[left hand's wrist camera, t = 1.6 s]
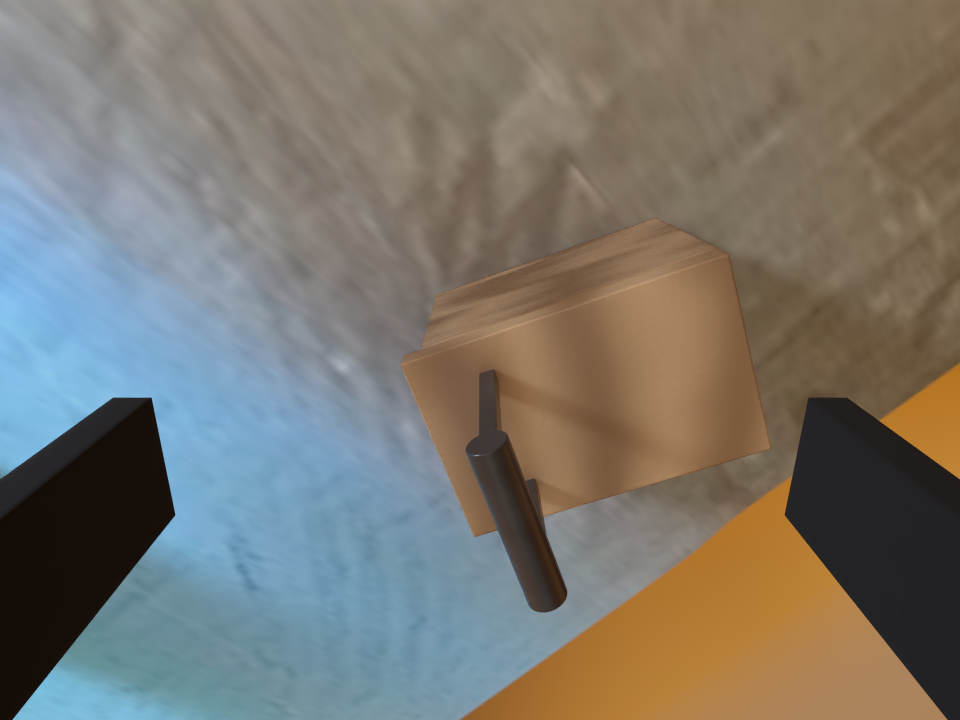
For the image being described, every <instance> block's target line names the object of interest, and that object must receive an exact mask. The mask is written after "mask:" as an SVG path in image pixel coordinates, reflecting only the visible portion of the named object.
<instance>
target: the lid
mask: <svg viewBox="0 0 960 720" xmlns="http://www.w3.org/2000/svg"><path fill="white" fill-rule="evenodd" d="M401 368H402V370H403V373H404V375H405V377H406V379H407V382H408V384H409V386H410V389H411V391H412V393H413V396H414V398H415V400H416V403H417V405H418V407H419V410H420V412H421V414H422V417H423V419H424V421H425V424H426V426H427V428H428V431H429V433H430V435H431V438H432V440H433V442H434V445H435V447H436V449H437V452H438V454H439V456H440V458H441V461H442V463H443V465H444V468H445V470H446V472H447V475H448V477H449V479H450V482H451V484H452V486H453V489H454V491H455V493H456V496H457V498H458V500H459V503H460V505H461V507H462V510H463V512H464V514H465V517H466V519H467V521H468V524H469V526H470V528H471V531H472V533H473V535H474V536H475V537H476V536H480V535H483V534H486V533H490V532H493V531H496V530H498V532H499V534H500V537H501V539H502V542H503V544H504V546H505V549H506V551H507V554H508V556H509V559H510V561H511V563H512V566H513V568H514V571H515V573H516V575H517V578H518V580H519V583H520V585H521V588H522V590H523V592H524V595H525V597H526V600H527V602H528V605H529V606H530V608H532V609H533V610H534V611H537V612H550V611H553V610H555V609H557V608H558V607H560V606H561V605H562V604H563V603H564V601H565V600H566V597H567V588H566V586H565V583H564V580H563V578H562V575H561V572H560V570H559V567H558V565H557V562H556V559H555V557H554V554H553V551H552V549H551V546H550V544H549V541H548V538H547V536H546V530H545V524H544V518H543V516H547V515H550V514H553V513H557V512H560V511H564V510H567V509H570V508H574V507H577V506H580V505H584V504H587V503H590V502H594V501H597V500H600V499H604V498H607V497H610V496H614V495H617V494H621V493H624V492H627V491H631V490H634V489H637V488H641V487H644V486H647V485H651V484H654V483H657V482H661V481H664V480H668V479H671V478H674V477H678V476H681V475H684V474H688V473H691V472H694V471H698V470H701V469H704V468H708V467H711V466H715V465H718V464H721V463H725V462H728V461H731V460H735V459H738V458H741V457H745V456H748V455H751V454H755V453H758V452H762V451H765V450H768V449H770V448H771V446H770V441H769V436H768V432H767V427H766V423H765V418H764V413H763V409H762V404H761V400H760V395H759V390H758V386H757V381H756V377H755V372H754V367H753V363H752V358H751V353H750V349H749V344H748V340H747V335H746V330H745V326H744V321H743V317H742V312H741V307H740V303H739V298H738V294H737V289H736V284H735V280H734V275H733V270H732V266H731V261H730V257H729V254H728V253H726V252H724V251H722V250H720V249H715V250H712V251H709V252H706V253H703V254H700V255H697V256H694V257H691V258H688V259H685V260H682V261H679V262H677V263H674V264H671V265H668V266H665V267H662V268H659V269H656V270H653V271H650V272H647V273H644V274H641V275H638V276H635V277H632V278H630V279H627V280H624V281H621V282H618V283H615V284H612V285H609V286H606V287H603V288H600V289H597V290H594V291H591V292H588V293H585V294H583V295H580V296H577V297H574V298H571V299H568V300H565V301H562V302H559V303H556V304H553V305H550V306H547V307H544V308H541V309H538V310H536V311H533V312H530V313H527V314H524V315H521V316H518V317H515V318H512V319H509V320H506V321H503V322H500V323H497V324H494V325H491V326H489V327H486V328H483V329H480V330H477V331H474V332H471V333H468V334H465V335H462V336H459V337H456V338H453V339H450V340H447V341H444V342H442V343H439V344H436V345H433V346H430V347H427V348H424V349H421V350H418V351H415V352H412V353H409V354H406V355H404V357H403V359H402V362H401Z"/></svg>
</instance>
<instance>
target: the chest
mask: <svg viewBox="0 0 960 720" xmlns="http://www.w3.org/2000/svg"><path fill="white" fill-rule="evenodd" d="M715 249H717V248H716V247H714V246H712V245H710V244H708V243H706V242H704V241H702V240H700V239H698V238H696V237H694V236H692V235H690V234H687V233H685V232H683V231H681V230H679V229H677V228H675V227H673V226H671V225H669V224H667V223H665V222H663V221H661V220H659V219H657V218H654V219H651V220H649V221H646V222H643V223H640V224H637V225H634V226H632V227H629V228H626V229H623V230H620V231H617V232H614V233H612V234H609V235H606V236H603V237H600V238H597V239H594V240H592V241H589V242H586V243H583V244H580V245H577V246H574V247H572V248H569V249H566V250H563V251H560V252H557V253H555V254H552V255H549V256H546V257H543V258H540V259H537V260H535V261H532V262H529V263H526V264H523V265H520V266H517V267H515V268H512V269H509V270H506V271H503V272H500V273H497V274H495V275H492V276H489V277H486V278H483V279H480V280H478V281H475V282H472V283H469V284H466V285H463V286H460V287H458V288H455V289H452V290H449V291H446V292H443V293H440V294H438V295H436V298H435V301H434V305H433V309H432V312H431V316H430V319H429V323H428V327H427V330H426V334H425V338H424V341H423V345H422V349H424V348H427V347H430V346H433V345H436V344H439V343H442V342H444V341H447V340H450V339H453V338H456V337H459V336H462V335H465V334H468V333H471V332H474V331H477V330H480V329H483V328H486V327H489V326H491V325H494V324H497V323H500V322H503V321H506V320H509V319H512V318H515V317H518V316H521V315H524V314H527V313H530V312H533V311H536V310H538V309H541V308H544V307H547V306H550V305H553V304H556V303H559V302H562V301H565V300H568V299H571V298H574V297H577V296H580V295H583V294H585V293H588V292H591V291H594V290H597V289H600V288H603V287H606V286H609V285H612V284H615V283H618V282H621V281H624V280H627V279H630V278H632V277H635V276H638V275H641V274H644V273H647V272H650V271H653V270H656V269H659V268H662V267H665V266H668V265H671V264H674V263H677V262H679V261H682V260H685V259H688V258H691V257H694V256H697V255H700V254H703V253H706V252H709V251H712V250H715Z"/></svg>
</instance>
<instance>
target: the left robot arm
mask: <svg viewBox="0 0 960 720" xmlns="http://www.w3.org/2000/svg"><path fill="white" fill-rule="evenodd" d="M174 516H175V511H174V506H173V501H172V496H171V491H170V486H169V481H168V477H167V472H166V467H165V462H164V457H163V452H162V447H161V442H160V437H159V432H158V427H157V422H156V417H155V413H154V408H153V403H152V398H112V399H111V400H109V401H108V402H107V403H105V404H104V405H102V406H101V407H100V408H98V409H97V410H96V411H94V412H93V413H91V414H90V415H89V416H87V417H86V418H84V419H83V420H82V421H80V422H79V423H78V424H76V425H75V426H73V427H72V428H71V429H69V430H68V431H67V432H65V433H64V434H62V435H61V436H60V437H58V438H57V439H55V440H54V441H53V442H51V443H50V444H49V445H47V446H46V447H44V448H43V449H42V450H40V451H39V452H38V453H36V454H35V455H33V456H32V457H31V458H29V459H28V460H26V461H25V462H24V463H22V464H21V465H20V466H18V467H17V468H15V469H14V470H13V471H11V472H10V473H9V474H7V475H6V476H4V477H3V478H2V479H0V720H13V718H14V717H15V716H16V715H17V713H18V712H19V711H20V710H21V708H22V707H23V706H24V704H25V703H26V702H27V701H28V699H29V698H30V697H31V696H32V694H33V693H34V692H35V691H36V689H37V688H38V687H39V686H40V684H41V683H42V682H43V681H44V679H45V678H46V677H47V676H48V674H49V673H50V672H51V671H52V669H53V668H54V667H55V666H56V664H57V663H58V662H59V661H60V659H61V658H62V657H63V656H64V654H65V653H66V652H67V650H68V649H69V648H70V647H71V645H72V644H73V643H74V642H75V640H76V639H77V638H78V637H79V635H80V634H81V633H82V632H83V630H84V629H85V628H86V627H87V625H88V624H89V623H90V622H91V620H92V619H93V618H94V617H95V615H96V614H97V613H98V612H99V610H100V609H101V608H102V607H103V605H104V604H105V603H106V601H107V600H108V599H109V598H110V596H111V595H112V594H113V593H114V591H115V590H116V589H117V588H118V586H119V585H120V584H121V583H122V581H123V580H124V579H125V578H126V576H127V575H128V574H129V573H130V571H131V570H132V569H133V568H134V566H135V565H136V564H137V563H138V561H139V560H140V559H141V558H142V556H143V555H144V554H145V552H146V551H147V550H148V549H149V547H150V546H151V545H152V544H153V542H154V541H155V540H156V539H157V537H158V536H159V535H160V534H161V532H162V531H163V530H164V529H165V527H166V526H167V525H168V524H169V522H170V521H171V520H172V519H173V517H174ZM785 516H786V517H787V519H788V520H789V521H790V522H791V524H792V525H793V526H794V527H795V529H796V530H797V531H798V532H799V534H800V535H801V536H802V537H803V539H804V540H805V541H806V542H807V544H808V545H809V546H810V547H811V549H812V550H813V551H814V552H815V554H816V555H817V556H818V557H819V559H820V560H821V561H822V562H823V564H824V565H825V566H826V568H827V569H828V570H829V571H830V573H831V574H832V575H833V576H834V578H835V579H836V580H837V581H838V583H839V584H840V585H841V586H842V588H843V589H844V590H845V591H846V593H847V594H848V595H849V596H850V598H851V599H852V600H853V601H854V603H855V604H856V605H857V607H858V608H859V609H860V610H861V612H862V613H863V614H864V615H865V617H866V618H867V619H868V620H869V622H870V623H871V624H872V625H873V627H874V628H875V629H876V630H877V632H878V633H879V634H880V635H881V637H882V638H883V639H884V640H885V642H886V643H887V644H888V645H889V647H890V648H891V649H892V650H893V652H894V653H895V654H896V656H897V657H898V658H899V659H900V661H901V662H902V663H903V664H904V666H905V667H906V668H907V669H908V671H909V672H910V673H911V674H912V676H913V677H914V678H915V679H916V681H917V682H918V683H919V684H920V686H921V687H922V688H923V689H924V691H925V692H926V693H927V694H928V696H929V697H930V698H931V699H932V701H933V702H934V703H935V704H936V706H937V707H938V708H939V709H940V711H941V712H942V713H943V715H944V716H945V717H946V718H947V720H960V479H958V478H957V477H956V476H954V475H953V474H951V473H950V472H949V471H947V470H946V469H945V468H943V467H942V466H940V465H939V464H938V463H936V462H935V461H934V460H932V459H931V458H929V457H928V456H927V455H925V454H924V453H922V452H921V451H920V450H918V449H917V448H916V447H914V446H913V445H911V444H910V443H909V442H907V441H906V440H905V439H903V438H902V437H900V436H899V435H898V434H896V433H895V432H893V431H892V430H891V429H889V428H888V427H887V426H885V425H884V424H882V423H881V422H880V421H878V420H877V419H876V418H874V417H873V416H871V415H870V414H869V413H867V412H866V411H864V410H863V409H862V408H860V407H859V406H858V405H856V404H855V403H853V402H852V401H851V400H849V399H848V398H808V403H807V408H806V413H805V417H804V422H803V427H802V432H801V437H800V442H799V447H798V452H797V457H796V462H795V467H794V472H793V477H792V481H791V487H790V491H789V496H788V501H787V506H786V511H785Z"/></svg>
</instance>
